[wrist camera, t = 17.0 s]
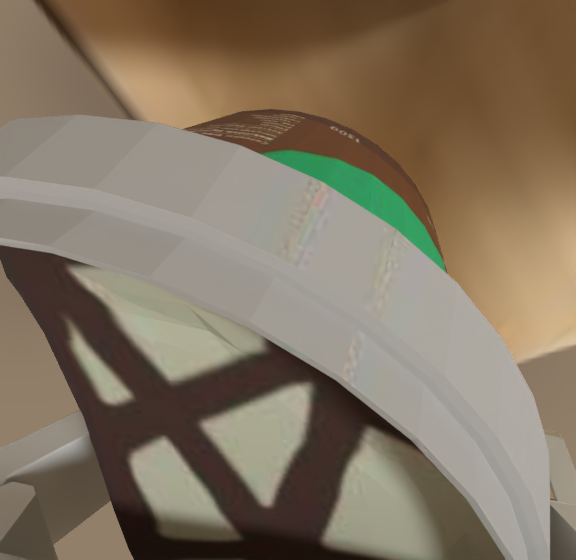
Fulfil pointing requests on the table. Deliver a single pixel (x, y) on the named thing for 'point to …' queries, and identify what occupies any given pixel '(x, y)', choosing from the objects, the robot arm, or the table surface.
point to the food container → (269, 343)
